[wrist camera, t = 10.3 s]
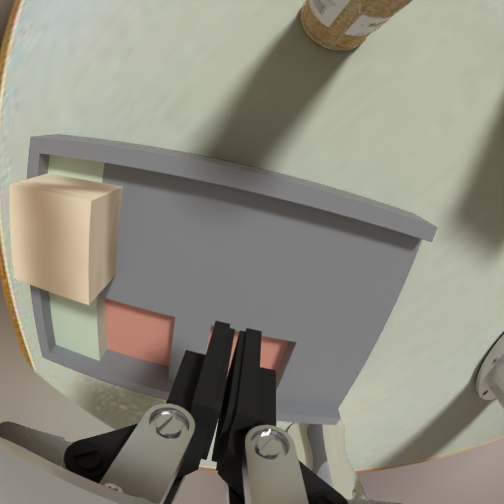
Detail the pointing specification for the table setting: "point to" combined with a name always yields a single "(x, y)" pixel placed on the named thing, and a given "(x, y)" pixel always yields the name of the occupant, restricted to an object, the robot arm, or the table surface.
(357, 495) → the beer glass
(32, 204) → the maple block
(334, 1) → the sprinkles bottle
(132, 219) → the box
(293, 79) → the table surface
